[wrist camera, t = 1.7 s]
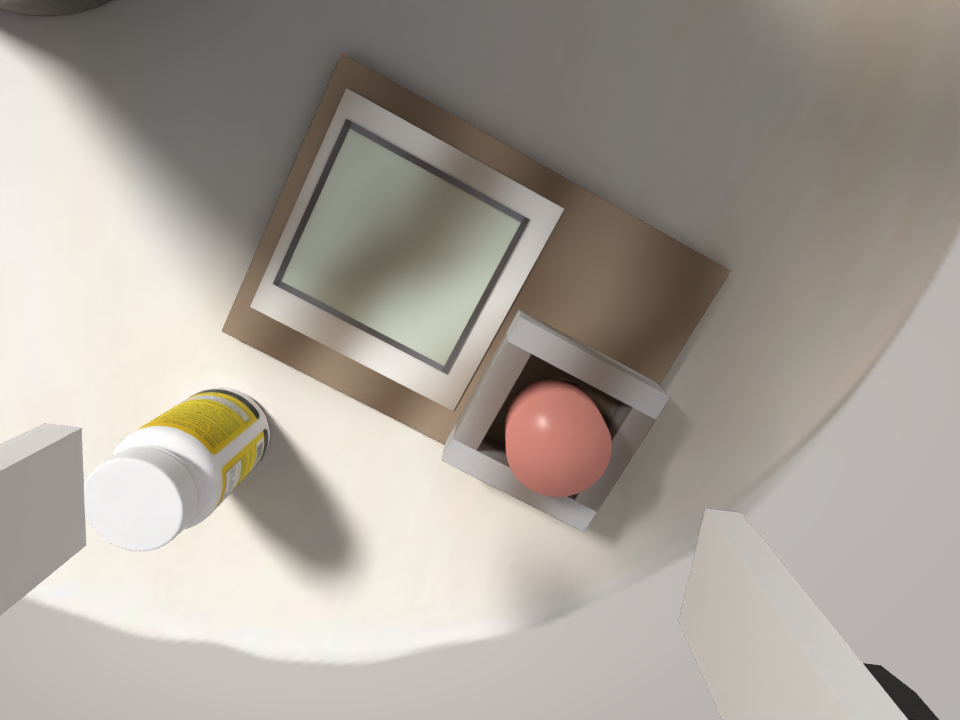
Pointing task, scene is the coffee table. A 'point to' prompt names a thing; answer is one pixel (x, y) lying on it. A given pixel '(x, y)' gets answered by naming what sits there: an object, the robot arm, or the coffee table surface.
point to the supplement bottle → (176, 469)
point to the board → (464, 283)
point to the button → (556, 438)
